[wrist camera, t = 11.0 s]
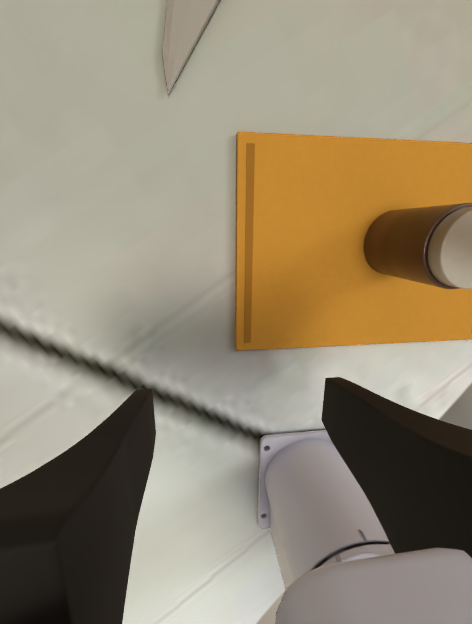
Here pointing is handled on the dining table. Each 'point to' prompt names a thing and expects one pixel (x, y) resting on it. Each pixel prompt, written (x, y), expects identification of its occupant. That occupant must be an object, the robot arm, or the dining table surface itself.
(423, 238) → the pepper shaker
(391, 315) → the orange cutting board
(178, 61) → the chef's knife
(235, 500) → the dining table surface
